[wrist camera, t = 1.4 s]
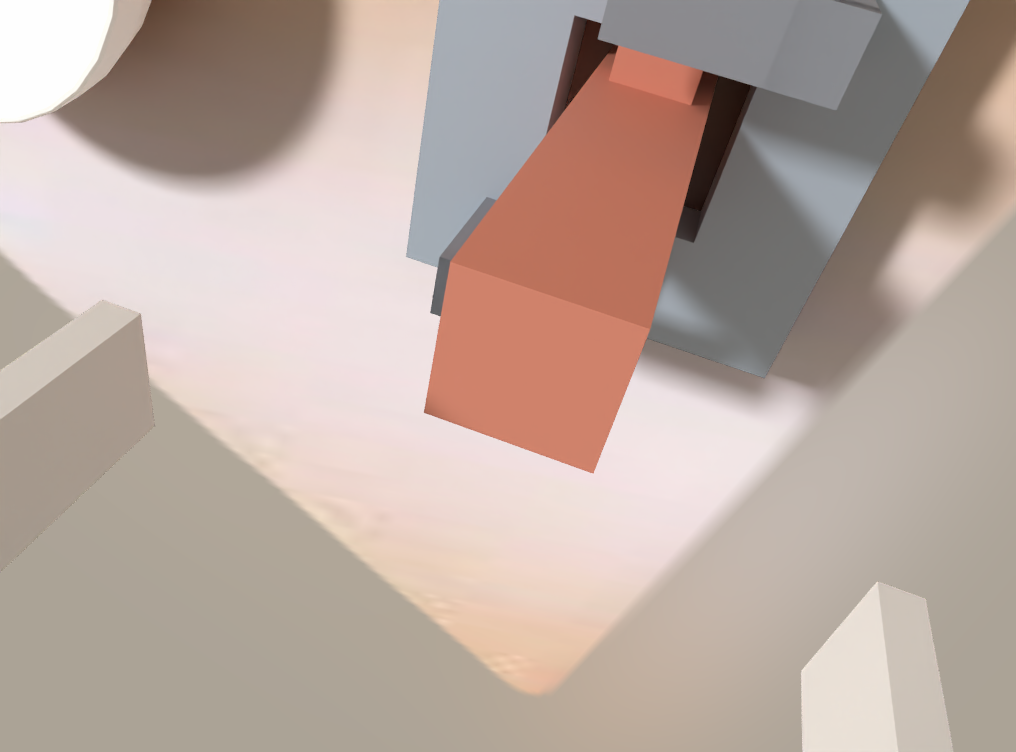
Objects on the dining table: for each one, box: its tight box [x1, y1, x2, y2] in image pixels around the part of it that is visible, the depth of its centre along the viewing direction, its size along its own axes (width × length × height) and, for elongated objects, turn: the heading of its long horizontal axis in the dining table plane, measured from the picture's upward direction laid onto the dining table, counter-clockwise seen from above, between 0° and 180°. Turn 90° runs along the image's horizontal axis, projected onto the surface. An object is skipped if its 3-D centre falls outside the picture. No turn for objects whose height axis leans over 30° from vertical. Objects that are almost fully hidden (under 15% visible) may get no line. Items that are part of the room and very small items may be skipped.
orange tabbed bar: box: [424, 44, 718, 473], centre depth 23 cm, size 12×4×18 cm, turn 168°
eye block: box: [406, 0, 970, 378], centre depth 26 cm, size 16×16×8 cm
